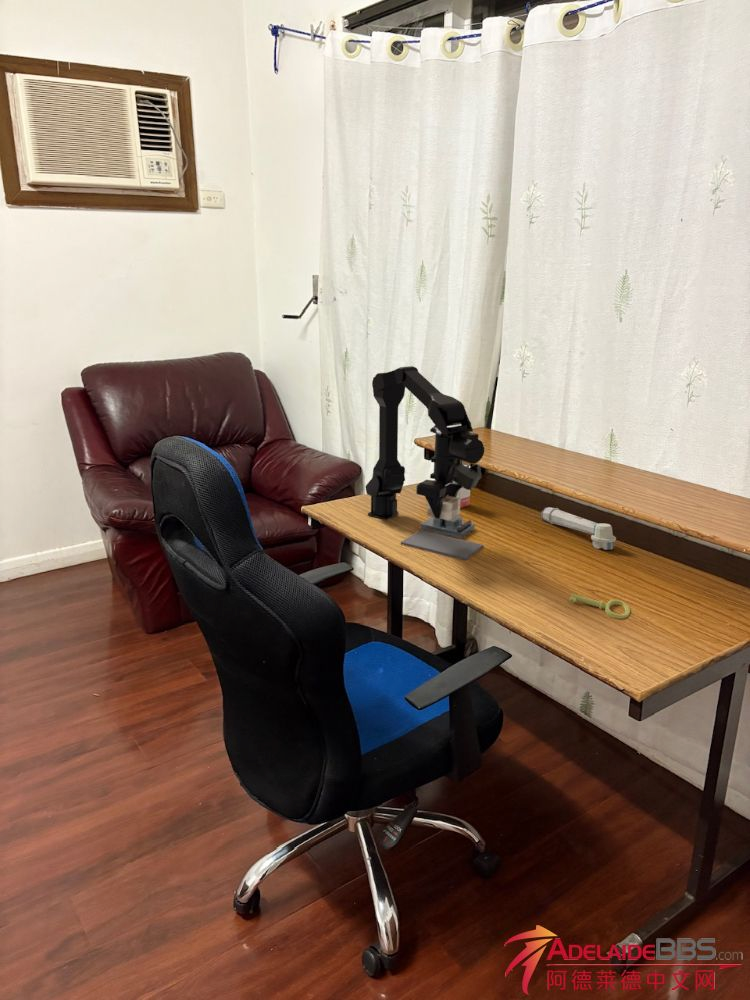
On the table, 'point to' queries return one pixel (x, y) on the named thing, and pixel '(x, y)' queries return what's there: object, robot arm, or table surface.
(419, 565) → the table surface
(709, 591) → the table surface
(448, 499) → the collar
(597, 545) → the grey pipe fitting
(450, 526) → the vise
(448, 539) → the charcoal mat
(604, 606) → the key
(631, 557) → the table surface
